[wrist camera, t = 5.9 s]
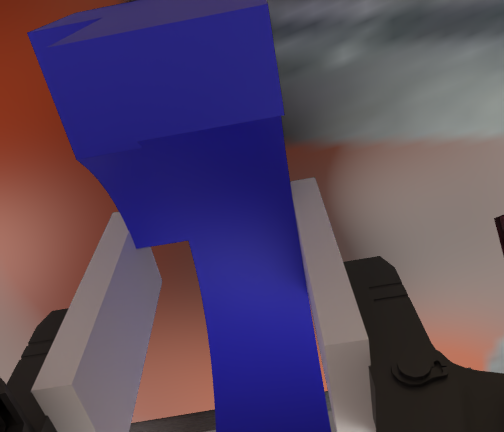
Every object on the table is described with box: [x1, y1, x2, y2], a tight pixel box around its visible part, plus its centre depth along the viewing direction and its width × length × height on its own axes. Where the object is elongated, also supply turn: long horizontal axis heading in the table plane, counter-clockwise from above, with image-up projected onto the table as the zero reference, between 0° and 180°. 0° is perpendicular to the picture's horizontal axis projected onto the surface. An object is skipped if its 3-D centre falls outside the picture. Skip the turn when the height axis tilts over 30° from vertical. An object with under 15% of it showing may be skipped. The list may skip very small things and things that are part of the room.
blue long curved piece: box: [27, 0, 331, 432], centre depth 12 cm, size 12×4×6 cm, turn 10°
